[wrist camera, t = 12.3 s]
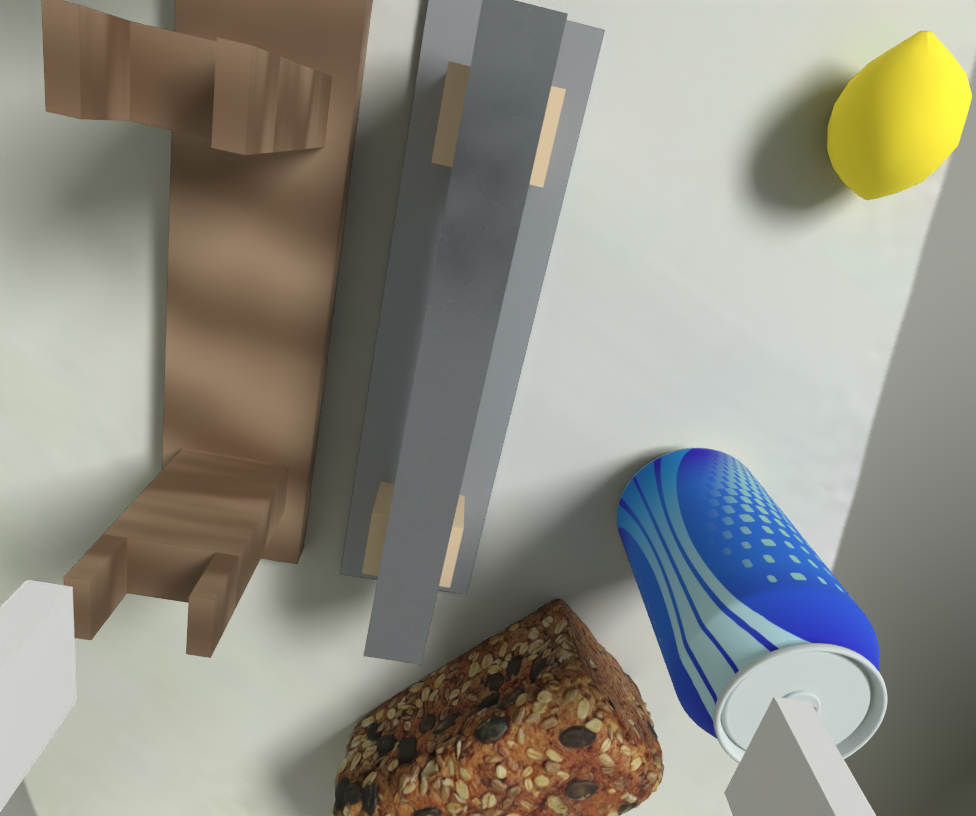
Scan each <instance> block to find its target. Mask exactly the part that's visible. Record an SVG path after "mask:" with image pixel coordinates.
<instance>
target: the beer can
mask: <svg viewBox="0 0 976 816" xmlns="http://www.w3.org/2000/svg"><path fill="white" fill-rule="evenodd" d="M617 526H618V531H619V534H620V537H621V540H622V543H623V545H624V548H625V551H626V554H627V557H628V560H629V562H630V565H631V568H632V571H633V574H634V576H635V579H636V582H637V585H638V588H639V590H640V593H641V596H642V599H643V602H644V604H645V607H646V610H647V613H648V616H649V618H650V621H651V624H652V627H653V630H654V632H655V635H656V638H657V641H658V644H659V646H660V649H661V652H662V655H663V658H664V661H665V663H666V666H667V669H668V672H669V675H670V677H671V680H672V683H673V686H674V689H675V691H676V694H677V697H678V699H679V701H680V703H681V705H682V707H683V708H684V710H685V712H686V713H687V714H688V715H689V717H690V718H691V719H692V720H693V721H694V722H695V723H696V724H697V725H698V726H699V727H701V728H702V729H703V730H705V731H706V732H708V733H709V734H711V735H712V736H714V737H715V738H717V739H718V741H719V743H720V744H721V746H722V748H723V749H724V750H725V752H726V753H727V754H728V755H729V756H730V757H731V758H733V759H734V760H735V761H737V762H738V763H740V761H741V759H742V758H743V756H744V754H745V752H746V750H747V748H748V746H749V744H750V742H751V740H752V738H753V736H754V734H755V732H756V730H757V728H758V726H759V724H760V722H761V721H762V719H763V717H764V715H765V713H766V711H767V709H768V707H769V705H770V703H771V701H772V699H773V697H781V698H787V699H794V700H800V701H806V702H811V704H812V705H813V707H814V709H815V711H816V712H817V714H818V716H819V718H820V719H821V721H822V723H823V725H824V726H825V728H826V730H827V732H828V733H829V735H830V737H831V738H832V740H833V742H834V744H835V745H836V747H837V749H838V751H839V752H840V754H841V756H842V758H843V759H845V758H847V757H848V756H850V755H851V754H853V753H854V752H855V751H857V750H858V749H859V748H861V747H862V746H863V745H864V744H865V743H866V742H867V741H868V740H869V739H870V738H871V737H872V736H873V734H874V733H875V732H876V730H877V729H878V727H879V725H880V724H881V722H882V720H883V717H884V714H885V711H886V707H887V690H886V686H885V683H884V681H883V678H882V677H881V675H880V673H879V646H878V642H877V638H876V634H875V631H874V629H873V627H872V625H871V623H870V622H869V620H868V618H867V617H866V615H865V614H864V613H863V612H862V610H861V609H860V608H859V607H858V605H857V604H856V603H855V601H854V600H853V599H852V598H851V596H850V595H849V594H848V593H847V592H846V590H845V589H844V588H843V587H842V585H841V584H840V583H839V582H838V580H837V579H836V578H835V577H834V575H833V574H832V573H831V572H830V570H829V569H828V568H827V567H826V565H825V564H824V563H823V562H822V560H821V559H820V558H819V557H818V555H817V554H816V553H815V552H814V551H813V549H812V548H811V547H810V546H809V544H808V543H807V542H806V541H805V539H804V538H803V537H802V536H801V534H800V533H799V532H798V531H797V529H796V528H795V527H794V526H793V524H792V523H791V522H790V521H789V519H788V518H787V517H786V516H785V515H784V513H783V512H782V511H781V510H780V508H779V507H778V506H777V505H776V503H775V502H774V501H773V500H772V498H771V497H770V496H769V495H768V493H767V492H766V491H765V490H764V488H763V487H762V486H761V485H760V483H759V482H758V481H757V480H756V479H755V477H754V476H753V475H752V474H751V472H750V471H749V470H748V469H747V468H746V467H745V466H744V465H743V464H742V463H741V462H740V461H738V460H737V459H735V458H734V457H732V456H730V455H728V454H726V453H723V452H721V451H717V450H713V449H707V448H687V449H681V450H676V451H673V452H669V453H667V454H664V455H662V456H660V457H658V458H656V459H654V460H652V461H651V462H649V463H648V464H646V465H645V466H644V467H642V468H641V469H640V470H639V471H638V472H637V473H636V474H635V475H634V476H633V477H632V478H631V480H630V481H629V482H628V484H627V485H626V487H625V489H624V491H623V492H622V495H621V497H620V500H619V504H618V509H617Z"/></svg>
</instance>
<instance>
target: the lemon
mask: <svg viewBox="0 0 976 816" xmlns="http://www.w3.org/2000/svg"><path fill="white" fill-rule="evenodd" d="M971 98H972V94H971V90H970V86H969V83H968V79H967V75H966V73H965V71H964V70H963V69H962V67H961V66H960V65H959V63H958V62H957V60H956V59H955V58H954V56H953V55H952V54H951V53H950V52H949V51H948V50H947V49H946V47H945V46H944V45H943V44H942V43H941V42H940V41H939V40H938V38H937V37H936V36H935V35H934V34H933V33H932V32H929V31H920V32H918V33H916V34H915V35H913V36H911V37H910V38H908V39H906V40H905V41H903V42H901V43H900V44H898V45H896V46H895V47H893V48H892V49H890V50H888V51H887V52H885V53H884V54H882V55H881V56H879V57H878V58H876V59H875V60H873V61H871V62H870V63H868V64H867V65H866V66H865V67H864V68H863V69H862V70H861V71H860V72H859V73H858V74H857V75H856V76H855V77H854V78H852V79H851V80H850V81H849V83H848V84H847V86H846V87H845V89H844V90H843V92H842V93H841V95H840V96H839V98H838V99H837V101H836V102H835V104H834V107H833V110H832V114H831V117H830V120H829V123H828V135H827V151H828V154H829V157H830V160H831V164H832V167H833V168H834V170H835V171H836V173H837V174H838V176H839V177H840V178H841V180H842V181H843V183H844V184H845V185H847V186H848V187H849V188H850V189H851V190H852V191H854V192H855V193H856V194H857V195H858V196H860V197H862V198H863V199H865V200H870V199H877V198H880V197H884V196H888V195H891V194H895V193H898V192H900V191H902V190H905V189H907V188H909V187H912V186H914V185H917V184H919V183H921V182H922V181H924V180H925V179H926V178H927V177H928V176H929V175H931V174H932V173H933V172H934V171H935V170H936V169H938V168H939V166H940V165H941V164H942V163H943V162H944V161H945V160H946V158H947V157H948V156H949V155H950V154H951V153H952V152H953V150H954V149H955V148H956V147H957V146H958V144H959V140H960V137H961V134H962V130H963V127H964V124H965V120H966V117H967V113H968V110H969V105H970V102H971Z"/></svg>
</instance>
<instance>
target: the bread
mask: <svg viewBox="0 0 976 816" xmlns="http://www.w3.org/2000/svg"><path fill="white" fill-rule="evenodd" d="M653 728H654V723H653V721H652V720H651V714H650V712H648V711H647V709H646V703H644V702H643V700H642V698H641V694H640V692H639V689H638V687H637V685H636V684H635V683H634V682H633V680H632V679H631V678H630V677H629V675H628V674H625V673H624V672H623V670H622V668H621V666H620V665H619V664H618V662H617V661H616V659H615V658H614V657H613V656H612V655H611V654H610V653H608V652H607V651H606V650H605V648H603V647H602V646H601V645H600V644H599V643H598V642H597V640H596V639H595V638H594V636H593V635H592V633H591V632H590V630H589V629H588V627H587V626H586V625H585V624H584V623H583V622H582V621H581V620H580V618H579V617H578V616H577V615H576V614H575V613H574V612H573V611H572V609H571V608H570V607H569V606H568V605H567V604H565V603H564V602H563V601H562V600H558V601H555V600H554V601H552V602H550V603H548V604H546V605H544V606H543V607H541V608H539V609H538V610H537V612H535V613H533V614H531V615H530V616H528V617H526V618H525V619H523V620H521V621H520V622H518V623H515V624H512V625H510V626H509V627H507V628H506V629H505V630H504V632H503V633H502V634H498V635H495V636H493V637H491V638H489V639H487V640H485V641H483V642H482V643H481V644H480V645H478V646H477V647H476V648H475V649H471V650H470V651H469V652H468V653H466V654H464V655H462V656H460V657H458V658H456V660H455V661H453V662H449V663H448V664H446V665H445V666H444V667H443V668H442V669H440V670H438V671H435V672H433V673H432V674H430V675H429V676H428V677H427V679H426V680H425V681H424V682H420V683H415V684H414V685H412V686H411V687H410V688H408V689H407V690H405V691H403V692H401V693H400V694H398V695H396V696H395V697H393V698H392V699H391V700H390V701H388V702H387V703H385V704H383V705H381V706H380V707H379V708H377V709H376V710H375V711H374V712H373V713H372V715H371V716H370V717H368V718H366V719H363V720H361V721H360V722H359V723H358V724H357V726H356V727H355V728H354V731H353V733H352V734H351V736H350V740H349V743H348V745H347V746H346V749H347V753H346V757H345V759H344V760H342V761H341V763H340V765H339V766H338V768H337V771H338V773H337V776H336V779H335V789H336V790H335V798H336V801H335V804H334V808H333V809H331V810H330V811H331V812H332V813H333V814H334V816H620V815H622V814H624V813H626V812H628V811H629V810H631V809H632V808H637V807H638V806H639V805H640V804H641V803H642V802H643V801H645V800H646V799H648V797H649V796H650V795H651V793H652V792H655V791H656V790H657V787H658V785H659V784H660V783H661V781H662V776H663V771H664V766H663V764H662V751H661V748H660V744H659V742H658V741H657V735H656V733H655V731H654V729H653Z"/></svg>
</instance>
